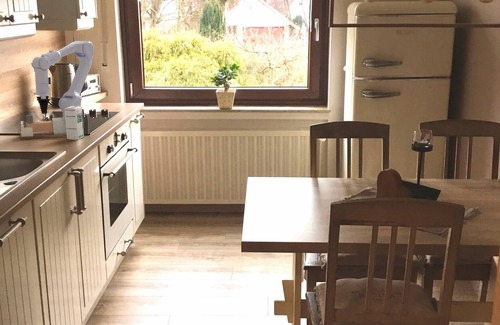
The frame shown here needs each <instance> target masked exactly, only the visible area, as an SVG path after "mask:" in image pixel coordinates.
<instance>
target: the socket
mask: <svg viewBox="0 0 500 325" xmlns="http://www.w3.org/2000/svg"><path fill="white" fill-rule="evenodd" d="M20 130H21V132H20V133H22V137H26V136H33V128H32V127H24V121H20Z"/></svg>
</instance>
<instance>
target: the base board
mask: <svg viewBox="0 0 500 325" xmlns="http://www.w3.org/2000/svg"><path fill="white" fill-rule="evenodd" d="M19 138H20V141H25V140H27V141H28V140H38V139H42V140H43V139H57V138H67V134H57V135H54V134H53V131H46V132H33V136H26V137H22V132H20V133H19Z"/></svg>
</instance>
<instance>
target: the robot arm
mask: <svg viewBox="0 0 500 325" xmlns="http://www.w3.org/2000/svg"><path fill="white" fill-rule="evenodd" d="M95 51H96V49H95V46H94V44H93V42H92V41H89V40H88V41H84V40H83V41H82V40H75V41H73V42H70V43H69V44H68V45H66V46H64V47H62V48H60V49H59V50H55V49H50V50H49V51H48V52H47V53H42V54H41V56H35V57H34V58H33V59H32V62H31V63H30V65H31V67H32V69H33V72H34V81H35V83H34V84H35V92H33V96H34V95H35V96H36V101H37V102H38V105H39V108H40V111H41V115H46V114H48V109H49V108H48V107H49V103H50V101H51V98H50V85H49V69H50V67H51V66H53V65H55V64H57V63H58V62H60V61H62V58H63V57H65V56H67V55H70V54H73V53H74V55H75V56H76V58H77V59H78V60H79V63H78V67H77V69H76V72H75V74H74V77H73V79H72V81H71V84H70V86H69V88H68V90H67V91H66V92H64V93H63V95H62V97H61V98H60V99H59V101H58V107H59V109H61V112H62V118H63V117H65V108H68V107H70V106H80V107H82V105H81V104H82V100H83V98H82V97H81V92H82V90H83V87H84V84H85V82H86V80H87V77H88V75H89V73H90V70H91V67H92V65H93V60H94V58H93V57H94V54H95Z"/></svg>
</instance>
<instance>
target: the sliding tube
mask: <svg viewBox="0 0 500 325" xmlns="http://www.w3.org/2000/svg"><path fill="white" fill-rule="evenodd" d="M23 125H24V127H32V128H33V132H48V131H53V121H52V120H49V121H48V120H46V121H34V118H33V114H26V122H23Z"/></svg>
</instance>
